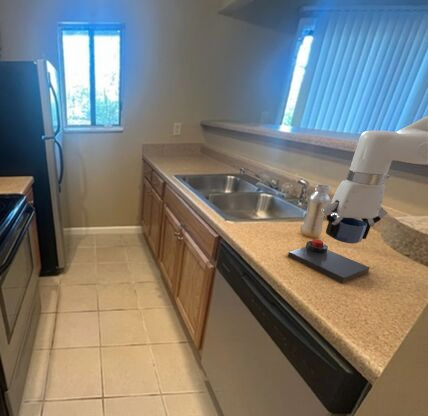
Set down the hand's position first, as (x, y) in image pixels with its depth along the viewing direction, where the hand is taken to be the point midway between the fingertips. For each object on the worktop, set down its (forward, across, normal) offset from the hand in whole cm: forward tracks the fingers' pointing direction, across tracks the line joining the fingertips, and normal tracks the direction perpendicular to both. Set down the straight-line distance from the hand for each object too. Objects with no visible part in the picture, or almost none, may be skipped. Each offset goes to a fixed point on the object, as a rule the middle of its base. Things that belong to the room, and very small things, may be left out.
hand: (345, 235), depth 80 cm
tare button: (+9, 0, -10) cm, 13 cm away
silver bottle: (+12, -6, -24) cm, 28 cm away
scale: (+12, 0, -3) cm, 12 cm away
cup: (+1, 0, 0) cm, 1 cm away
